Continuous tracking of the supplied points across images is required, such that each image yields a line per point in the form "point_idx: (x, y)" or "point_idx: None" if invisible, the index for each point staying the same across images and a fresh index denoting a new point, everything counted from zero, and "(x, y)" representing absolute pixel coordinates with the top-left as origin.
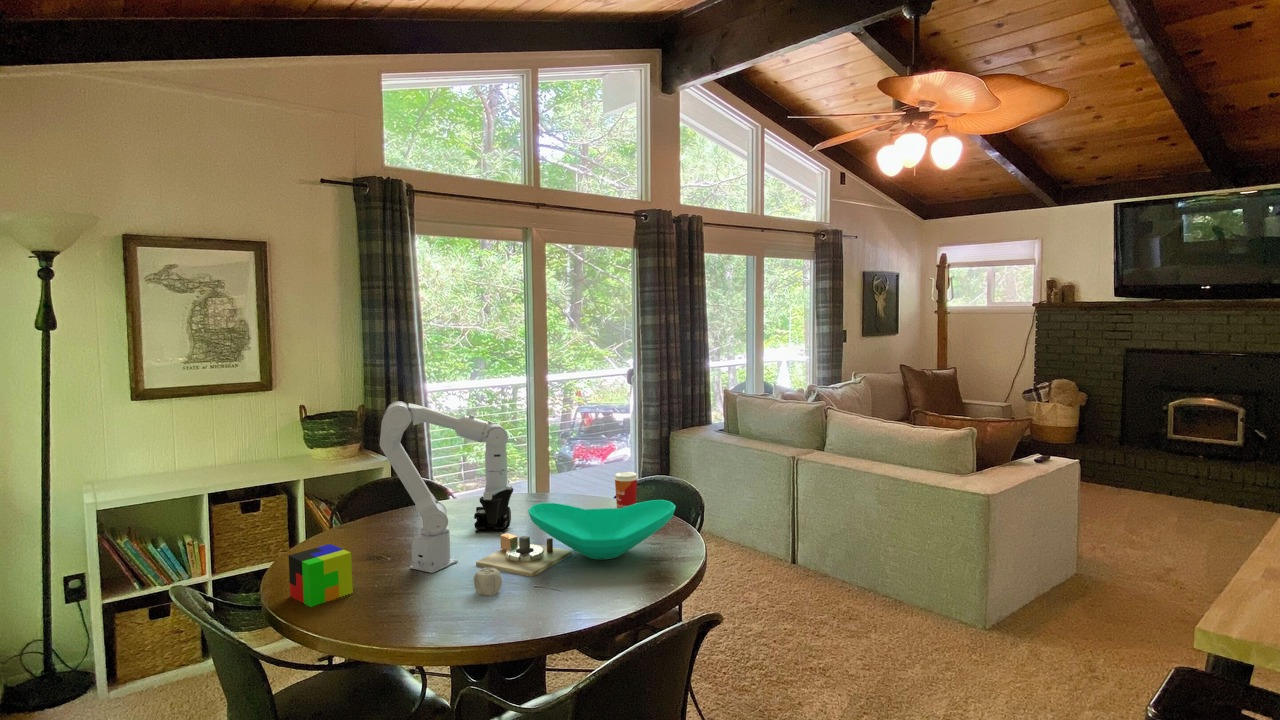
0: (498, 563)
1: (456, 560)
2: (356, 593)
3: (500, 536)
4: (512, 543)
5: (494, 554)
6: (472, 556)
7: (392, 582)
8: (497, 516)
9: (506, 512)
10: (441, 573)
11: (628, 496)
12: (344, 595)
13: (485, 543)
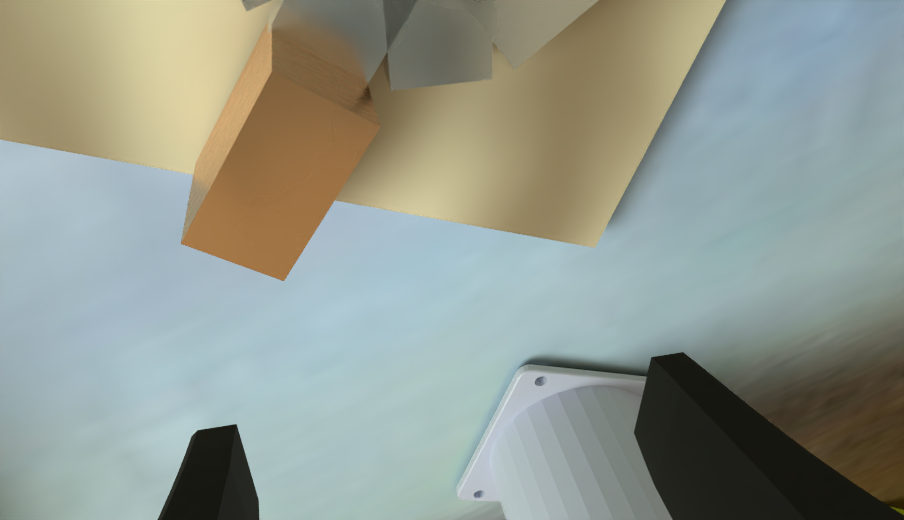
0: (640, 59)
1: (538, 371)
2: (880, 495)
3: (284, 271)
4: (345, 82)
5: (420, 189)
6: (402, 333)
7: None
8: (738, 424)
9: (210, 459)
10: (708, 346)
11: None
12: (899, 511)
13: (89, 386)
